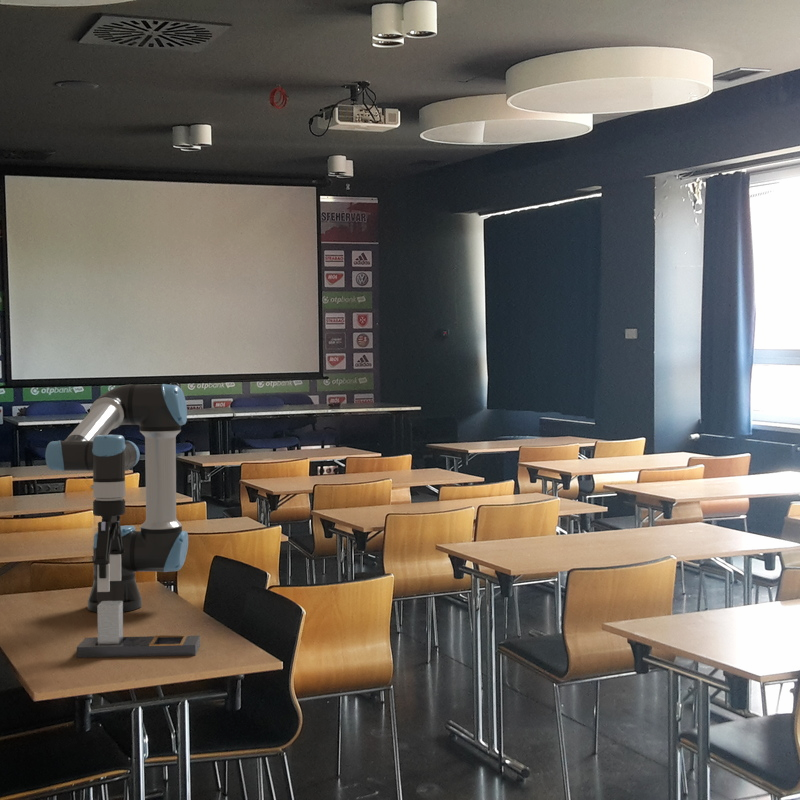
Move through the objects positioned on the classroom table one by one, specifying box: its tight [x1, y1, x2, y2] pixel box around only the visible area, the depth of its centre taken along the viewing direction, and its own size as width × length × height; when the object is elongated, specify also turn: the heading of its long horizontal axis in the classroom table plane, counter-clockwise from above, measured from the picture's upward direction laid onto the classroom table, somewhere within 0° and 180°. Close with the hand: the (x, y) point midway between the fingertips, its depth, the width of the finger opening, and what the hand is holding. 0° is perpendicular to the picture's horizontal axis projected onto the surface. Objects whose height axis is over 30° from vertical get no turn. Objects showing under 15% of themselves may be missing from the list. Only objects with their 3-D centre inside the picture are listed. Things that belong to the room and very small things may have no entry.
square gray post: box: [97, 601, 124, 645], centre depth 251 cm, size 5×5×12 cm
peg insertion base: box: [76, 634, 201, 659], centre depth 252 cm, size 9×28×3 cm, turn 94°
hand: (109, 586), depth 251 cm, fingers open, 13 cm apart
